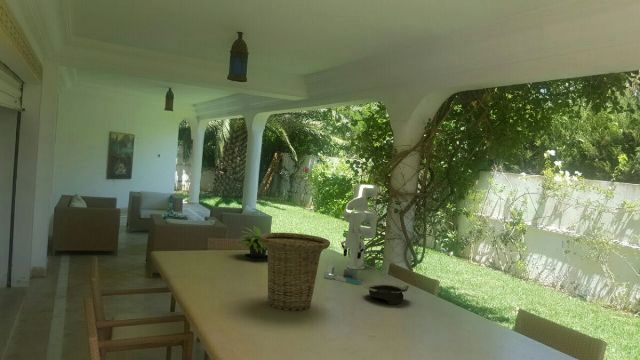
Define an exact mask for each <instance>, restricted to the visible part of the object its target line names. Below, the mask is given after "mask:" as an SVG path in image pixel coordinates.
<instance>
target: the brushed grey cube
mask: <svg viewBox="0 0 640 360" xmlns="http://www.w3.org/2000/svg"><path fill="white" fill-rule="evenodd" d="M357 276H358V269H351V268H348V267H346V268H345V269H343V277H347V278H348V277H350V278H355V279H358V278H357Z"/></svg>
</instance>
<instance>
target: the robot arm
mask: <svg viewBox="0 0 640 360" xmlns="http://www.w3.org/2000/svg"><path fill="white" fill-rule="evenodd" d="M352 188H353V195H354V196H353V199H351V200H349V201H348V202H347V203H346V204H345V207H344V212H343V220H345V221H347V222H349V223H348V224H349V225H348V231H347V233H346V237H345V239H344V241H341V242H340V245H341V248H342V250H343V257H347V256H348V249H350V251H349V262H348V264H347V265H346V268H351V269H356V270H364V269H365V266H364V264H365V261H364V254H365V253H364V252H365V249H366V248H367V246H366V245H365V242H364V240H363V239H374V238H375V236H376V233H377V232H376V231H377V221H378V214H377V211H376V210H374V209H368V207H369V201H368V199H367V197H368V198H376V197H377V195H378V194H379V189H378V188H379V187H378V186H377V185H375V184H371V183H368V184H367V183H356V184H354V185H353V187H352ZM365 223H366V224H365Z"/></svg>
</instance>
